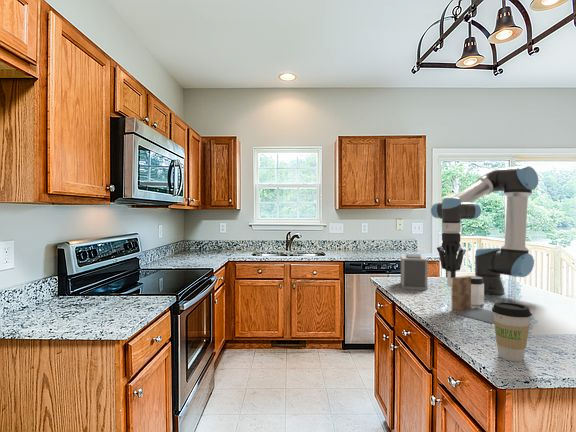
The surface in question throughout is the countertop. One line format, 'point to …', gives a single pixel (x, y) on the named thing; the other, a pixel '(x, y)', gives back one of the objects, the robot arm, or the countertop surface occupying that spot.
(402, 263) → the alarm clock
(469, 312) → the mat
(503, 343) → the coffee cup
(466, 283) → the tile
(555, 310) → the countertop surface
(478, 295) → the jar
